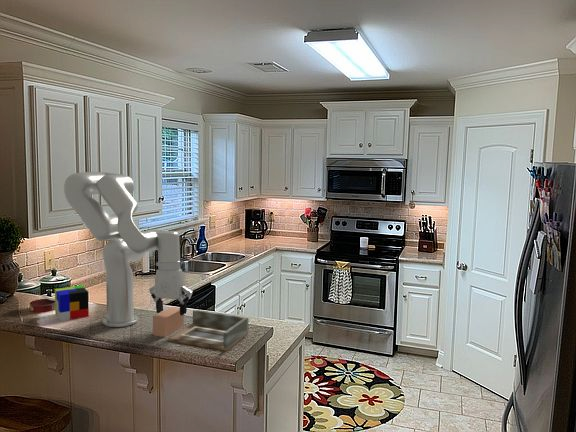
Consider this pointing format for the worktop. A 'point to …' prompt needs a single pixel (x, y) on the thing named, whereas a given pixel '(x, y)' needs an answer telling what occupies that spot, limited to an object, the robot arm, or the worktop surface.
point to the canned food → (42, 305)
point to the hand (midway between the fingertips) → (171, 313)
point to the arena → (213, 330)
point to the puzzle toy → (71, 303)
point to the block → (167, 322)
